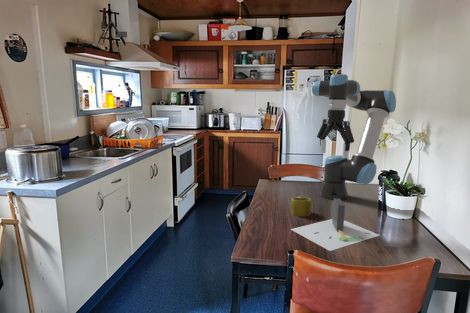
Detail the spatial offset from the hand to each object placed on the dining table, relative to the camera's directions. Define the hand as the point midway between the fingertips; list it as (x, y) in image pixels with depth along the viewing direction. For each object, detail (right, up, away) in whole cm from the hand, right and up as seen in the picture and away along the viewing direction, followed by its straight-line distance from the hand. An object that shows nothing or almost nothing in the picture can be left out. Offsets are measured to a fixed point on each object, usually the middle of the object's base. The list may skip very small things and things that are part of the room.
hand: (333, 155), depth 151 cm
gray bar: (-3, -31, -18) cm, 36 cm away
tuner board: (-5, -32, -18) cm, 37 cm away
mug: (-14, -28, +5) cm, 32 cm away
